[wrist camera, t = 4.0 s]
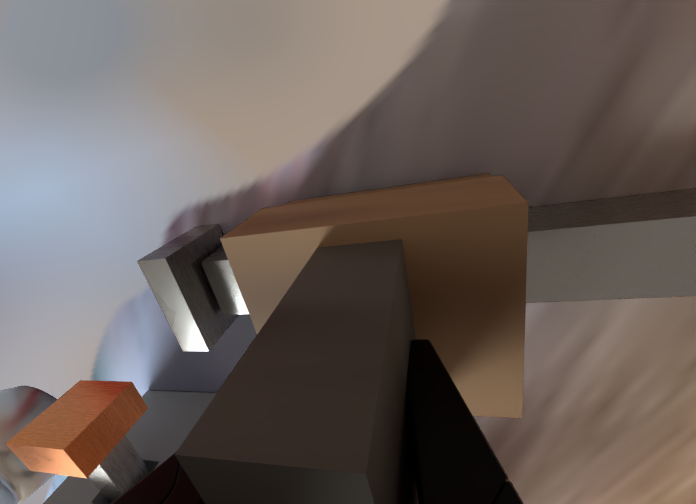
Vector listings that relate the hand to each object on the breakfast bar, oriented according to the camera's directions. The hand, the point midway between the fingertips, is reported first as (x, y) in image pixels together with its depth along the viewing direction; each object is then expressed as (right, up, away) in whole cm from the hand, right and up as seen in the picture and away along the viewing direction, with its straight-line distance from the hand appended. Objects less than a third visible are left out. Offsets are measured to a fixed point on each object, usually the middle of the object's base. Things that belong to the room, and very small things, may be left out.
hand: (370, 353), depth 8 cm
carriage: (+1, +2, +5) cm, 6 cm away
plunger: (-11, -6, +8) cm, 15 cm away
